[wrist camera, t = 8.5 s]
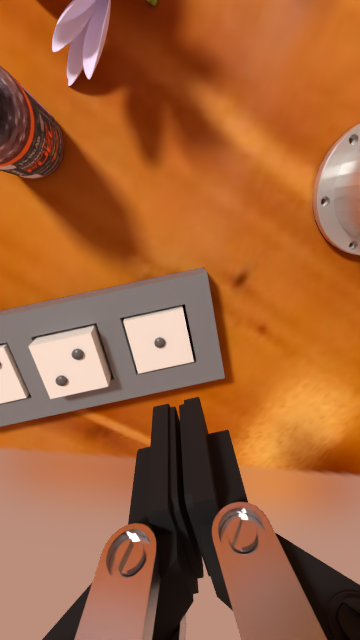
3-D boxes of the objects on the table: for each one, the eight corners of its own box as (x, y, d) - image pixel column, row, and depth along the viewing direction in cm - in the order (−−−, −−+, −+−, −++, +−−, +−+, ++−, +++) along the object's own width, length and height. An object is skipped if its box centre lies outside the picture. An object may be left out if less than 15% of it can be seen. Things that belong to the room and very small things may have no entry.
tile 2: (95, 324, 30) (90, 333, 28) (111, 374, 33) (108, 387, 30) (37, 336, 30) (27, 347, 28) (57, 386, 33) (49, 400, 30)
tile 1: (181, 301, 32) (183, 309, 29) (191, 351, 34) (194, 362, 31) (125, 313, 32) (123, 322, 29) (139, 362, 34) (138, 374, 31)
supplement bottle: (57, 190, 28) (-4, 177, 17) (-11, 163, 27) (-120, 131, 16) (74, 120, 26) (18, 57, 15) (2, 89, 25) (-111, -3, 14)
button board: (203, 267, 31) (207, 271, 29) (220, 367, 35) (224, 378, 33) (-80, 328, 31) (-99, 337, 29) (-30, 420, 35) (-43, 435, 33)
